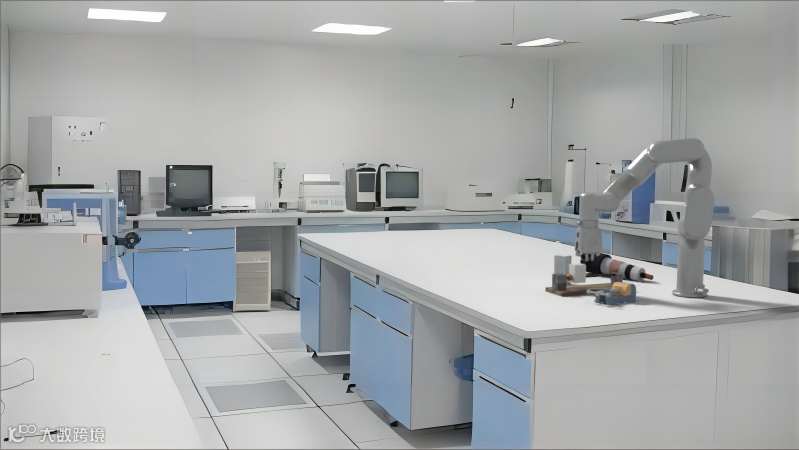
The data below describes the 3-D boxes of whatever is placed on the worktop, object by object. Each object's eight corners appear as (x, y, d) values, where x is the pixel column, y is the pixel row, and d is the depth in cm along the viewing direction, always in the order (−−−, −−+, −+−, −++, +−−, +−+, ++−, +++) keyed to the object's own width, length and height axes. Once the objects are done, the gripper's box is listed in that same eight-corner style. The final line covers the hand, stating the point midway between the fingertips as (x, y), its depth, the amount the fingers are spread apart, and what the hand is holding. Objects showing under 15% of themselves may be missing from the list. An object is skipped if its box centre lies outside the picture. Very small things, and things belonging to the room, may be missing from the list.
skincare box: (571, 284, 323) (572, 255, 321) (565, 285, 320) (565, 256, 319) (559, 282, 327) (560, 254, 326) (553, 283, 324) (553, 254, 323)
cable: (647, 293, 325) (643, 274, 321) (582, 275, 351) (578, 257, 346) (660, 281, 330) (657, 261, 326) (595, 263, 356) (591, 245, 351)
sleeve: (585, 282, 303) (585, 264, 302) (574, 283, 301) (574, 265, 300) (579, 280, 306) (580, 263, 306) (568, 281, 304) (569, 263, 304)
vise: (617, 297, 293) (617, 280, 292) (640, 302, 285) (640, 284, 284) (585, 303, 283) (585, 285, 282) (608, 307, 274) (608, 289, 274)
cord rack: (627, 291, 305) (628, 272, 304) (561, 296, 295) (562, 276, 294) (609, 286, 316) (609, 268, 316) (545, 291, 306) (545, 272, 305)
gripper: (577, 225, 297) (576, 273, 299) (610, 224, 302) (609, 271, 304) (566, 224, 304) (565, 270, 306) (599, 223, 309) (598, 268, 311)
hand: (587, 270), depth 305 cm, fingers closed
